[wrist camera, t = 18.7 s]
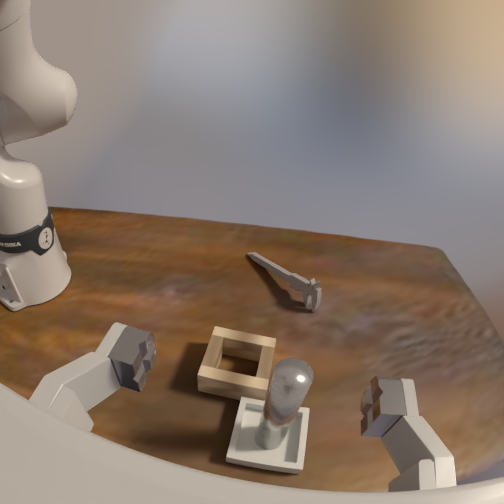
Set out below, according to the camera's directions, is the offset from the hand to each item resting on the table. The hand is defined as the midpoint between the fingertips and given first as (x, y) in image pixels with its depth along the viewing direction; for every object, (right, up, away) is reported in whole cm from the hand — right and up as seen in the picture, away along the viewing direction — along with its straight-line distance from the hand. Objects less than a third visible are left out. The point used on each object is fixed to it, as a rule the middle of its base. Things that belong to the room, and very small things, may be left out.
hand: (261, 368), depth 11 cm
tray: (+2, -19, +25) cm, 32 cm away
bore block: (-2, -13, +34) cm, 36 cm away
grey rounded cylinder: (+2, -19, +25) cm, 31 cm away
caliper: (+5, -2, +52) cm, 53 cm away
